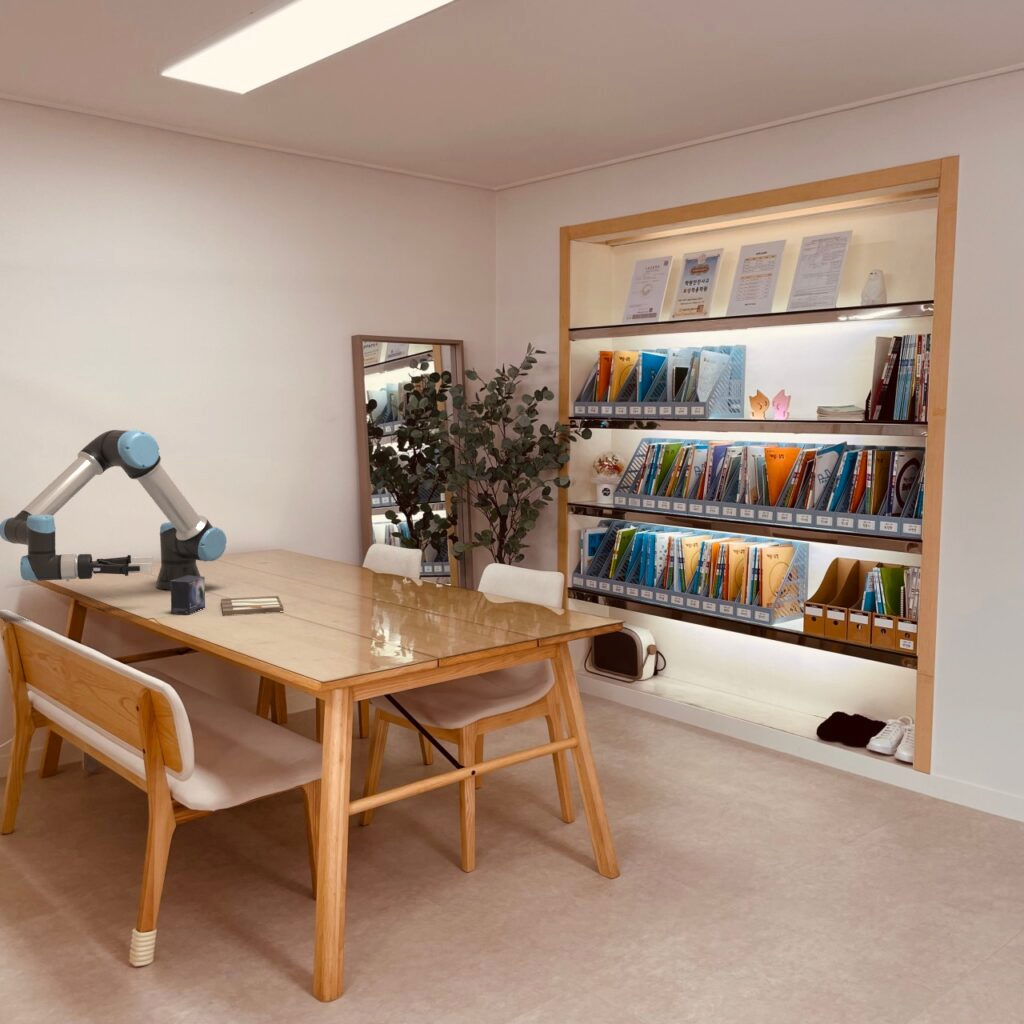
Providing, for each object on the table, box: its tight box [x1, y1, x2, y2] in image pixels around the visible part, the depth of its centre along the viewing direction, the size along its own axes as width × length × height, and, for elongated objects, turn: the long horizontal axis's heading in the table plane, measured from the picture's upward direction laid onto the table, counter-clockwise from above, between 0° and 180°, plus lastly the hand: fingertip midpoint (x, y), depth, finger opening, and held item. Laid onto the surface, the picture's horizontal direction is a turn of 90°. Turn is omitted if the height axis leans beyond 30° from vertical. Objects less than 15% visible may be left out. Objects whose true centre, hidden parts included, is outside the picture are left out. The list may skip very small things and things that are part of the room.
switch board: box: [220, 595, 284, 616], centre depth 331 cm, size 20×18×2 cm
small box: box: [170, 575, 206, 615], centre depth 325 cm, size 11×6×10 cm, turn 168°
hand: (152, 564), depth 320 cm, fingers open, 13 cm apart
